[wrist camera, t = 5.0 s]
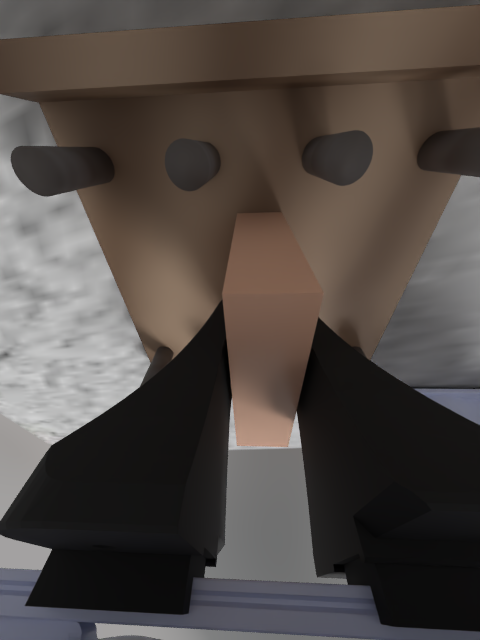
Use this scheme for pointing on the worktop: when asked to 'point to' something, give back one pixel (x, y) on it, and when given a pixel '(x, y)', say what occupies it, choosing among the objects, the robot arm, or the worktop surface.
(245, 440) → the pink square slab
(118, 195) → the rack
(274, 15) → the worktop surface
